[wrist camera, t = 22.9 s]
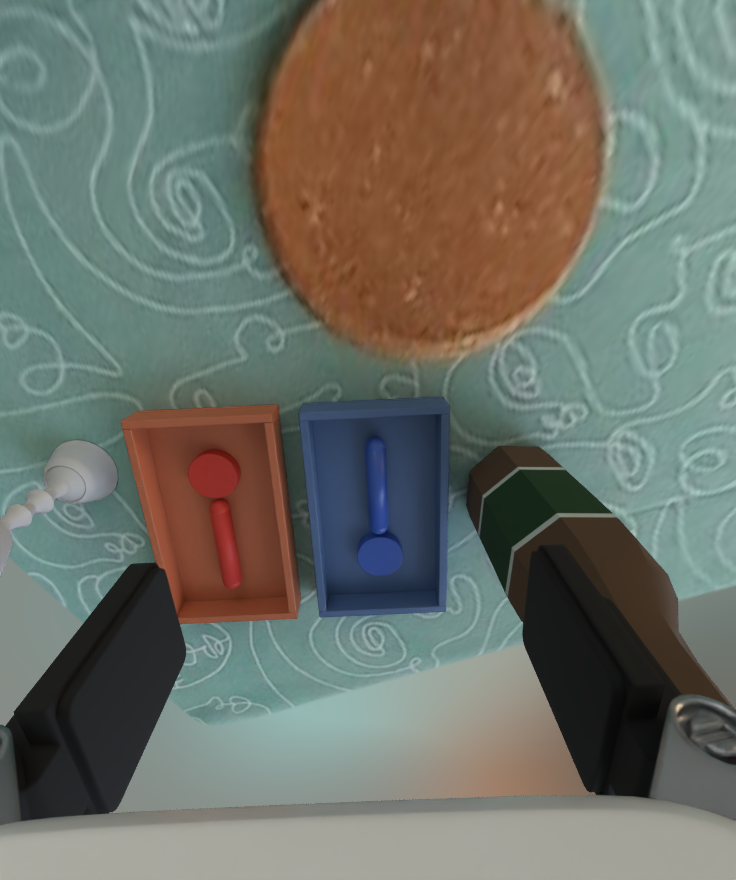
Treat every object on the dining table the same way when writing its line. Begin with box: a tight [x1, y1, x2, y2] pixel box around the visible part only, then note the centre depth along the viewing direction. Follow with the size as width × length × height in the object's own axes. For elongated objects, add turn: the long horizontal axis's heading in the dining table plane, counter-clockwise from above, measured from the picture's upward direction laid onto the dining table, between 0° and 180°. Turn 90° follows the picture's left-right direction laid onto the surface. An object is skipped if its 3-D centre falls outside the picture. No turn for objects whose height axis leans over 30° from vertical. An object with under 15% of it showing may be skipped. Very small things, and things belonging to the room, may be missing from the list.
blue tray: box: [299, 397, 450, 617], centre depth 33 cm, size 17×10×2 cm, turn 3°
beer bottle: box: [466, 446, 734, 709], centre depth 23 cm, size 8×8×24 cm
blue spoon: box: [357, 437, 403, 576], centre depth 33 cm, size 12×4×2 cm, turn 3°
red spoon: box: [188, 449, 242, 589], centre depth 34 cm, size 12×4×2 cm, turn 3°
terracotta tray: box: [121, 404, 301, 624], centre depth 33 cm, size 17×10×2 cm, turn 3°
